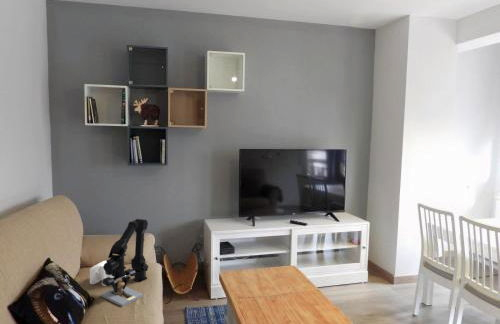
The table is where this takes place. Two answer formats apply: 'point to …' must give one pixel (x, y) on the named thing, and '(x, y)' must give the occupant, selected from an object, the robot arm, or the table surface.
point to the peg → (120, 287)
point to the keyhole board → (120, 300)
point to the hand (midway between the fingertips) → (119, 291)
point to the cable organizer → (98, 273)
